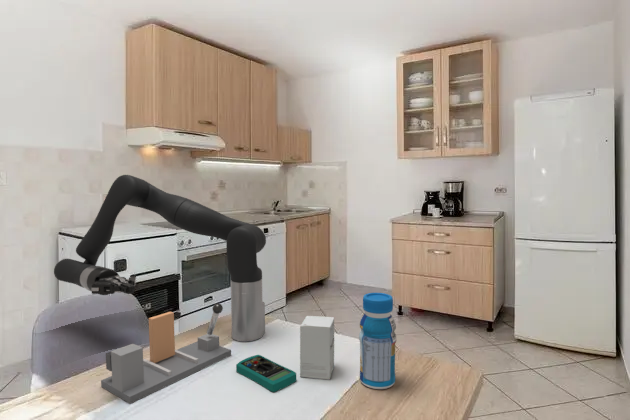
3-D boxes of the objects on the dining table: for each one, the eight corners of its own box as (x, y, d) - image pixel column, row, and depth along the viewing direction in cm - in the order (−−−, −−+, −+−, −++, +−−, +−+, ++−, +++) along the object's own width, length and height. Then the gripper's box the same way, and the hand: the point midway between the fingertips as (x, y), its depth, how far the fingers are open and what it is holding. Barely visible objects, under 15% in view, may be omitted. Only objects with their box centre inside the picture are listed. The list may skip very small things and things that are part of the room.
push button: (122, 362, 91) (121, 347, 91) (126, 365, 90) (125, 349, 90) (106, 368, 89) (105, 353, 88) (110, 371, 87) (110, 355, 87)
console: (201, 344, 112) (201, 311, 111) (231, 355, 105) (230, 320, 104) (101, 386, 89) (99, 345, 88) (130, 403, 82) (128, 359, 81)
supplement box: (330, 380, 91) (330, 327, 90) (299, 377, 93) (299, 325, 92) (335, 365, 99) (335, 316, 98) (306, 363, 100) (306, 314, 99)
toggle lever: (210, 330, 107) (219, 300, 104) (215, 335, 106) (225, 306, 103) (202, 333, 105) (211, 302, 102) (208, 339, 104) (218, 308, 101)
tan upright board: (171, 353, 102) (170, 311, 101) (175, 354, 101) (173, 312, 100) (150, 361, 97) (148, 318, 96) (153, 363, 96) (152, 319, 95)
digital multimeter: (258, 362, 101) (258, 351, 101) (298, 382, 91) (297, 370, 91) (234, 373, 96) (234, 361, 96) (273, 395, 86) (273, 382, 86)
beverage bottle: (372, 394, 85) (372, 303, 84) (352, 376, 93) (352, 293, 91) (403, 385, 89) (404, 298, 87) (381, 369, 96) (382, 289, 95)
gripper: (74, 271, 110) (106, 281, 100) (121, 263, 120) (153, 271, 110) (75, 297, 110) (107, 309, 100) (121, 287, 121) (154, 297, 111)
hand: (131, 289), depth 105 cm, fingers closed
